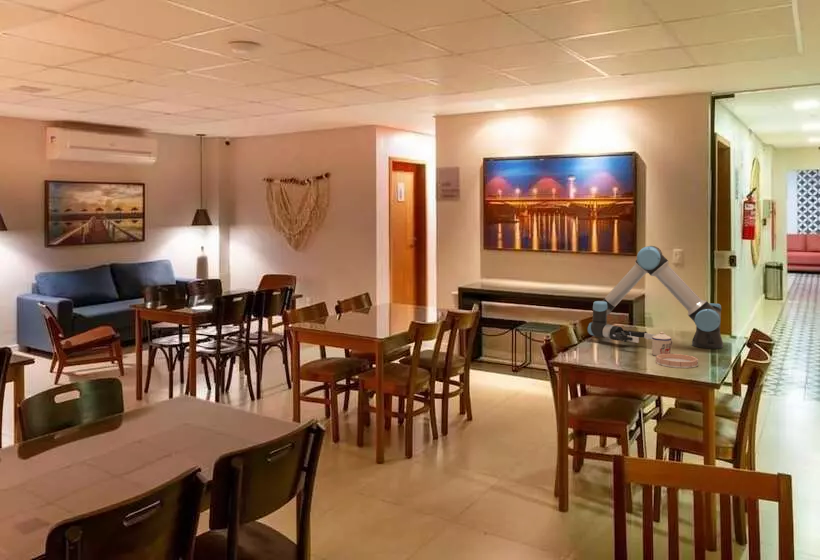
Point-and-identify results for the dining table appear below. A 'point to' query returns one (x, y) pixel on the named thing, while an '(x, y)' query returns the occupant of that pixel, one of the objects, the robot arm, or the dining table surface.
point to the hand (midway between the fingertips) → (647, 338)
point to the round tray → (677, 360)
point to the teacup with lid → (661, 344)
